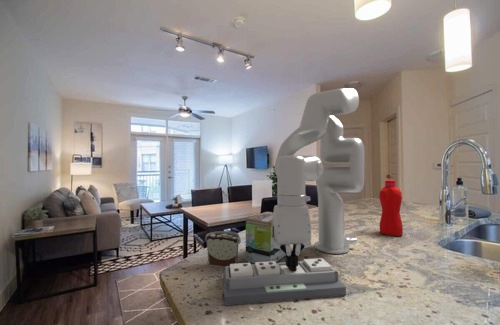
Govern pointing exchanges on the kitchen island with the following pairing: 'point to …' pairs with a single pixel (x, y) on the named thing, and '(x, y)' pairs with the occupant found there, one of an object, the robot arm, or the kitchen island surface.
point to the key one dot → (287, 271)
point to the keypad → (281, 286)
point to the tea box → (261, 239)
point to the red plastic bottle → (391, 209)
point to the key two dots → (241, 270)
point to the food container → (222, 248)
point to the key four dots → (267, 268)
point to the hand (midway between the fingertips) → (291, 268)
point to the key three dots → (317, 265)
